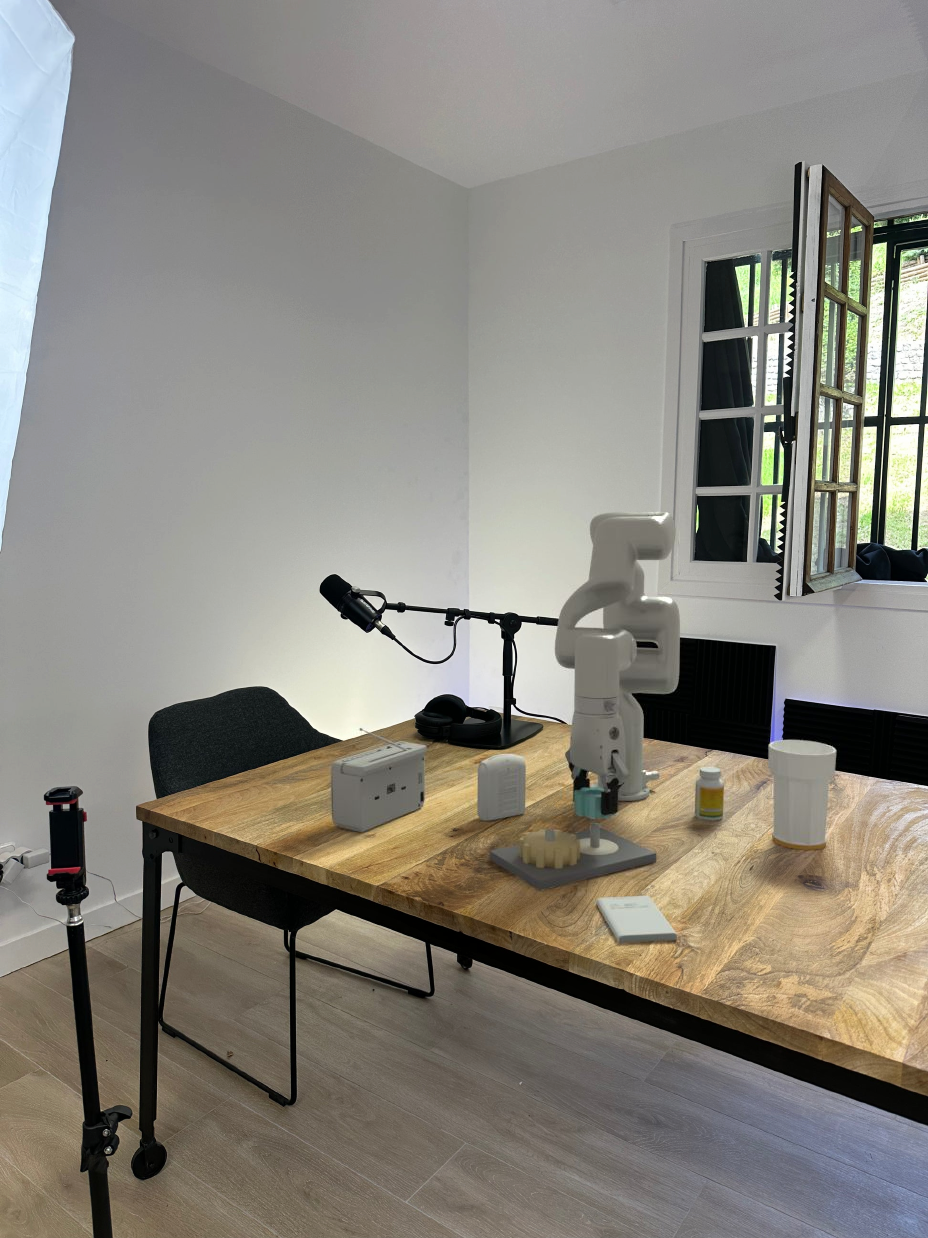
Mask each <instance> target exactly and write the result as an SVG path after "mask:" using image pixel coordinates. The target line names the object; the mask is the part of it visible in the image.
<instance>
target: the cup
mask: <svg viewBox="0 0 928 1238" xmlns="http://www.w3.org/2000/svg"><path fill="white" fill-rule="evenodd" d="M836 758H837V749H836V748H835V747H833V745H832V746H831V745H828V744H826V743H822V742H818V741H812V740H803V739H801V740H800V739H783V740H775V741H771V742H770V743H769V744H768V769H769V771H770V773H772V775H773V831H772V832H771V833H772V834H771V836H772V837H771V839H772V841H773V842H775V843H776V844H778V845H779V846H782V847H784V848H788V849H792V850H793V849H794V850H798V851H814V850H815V851H816V850H821V849H823V848H825V847H826V845H827V838H826V831H827V829H826V827H827V814H828V803H829V802H828V800H829V799H828V798H829V787H830V785H829V784H830V781H831V779H832V778H833V777H834V775H835V773H836V772H835V771H836V764H837V762H836V760H837V759H836Z"/></svg>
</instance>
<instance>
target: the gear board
mask: <svg viewBox="0 0 928 1238" xmlns="http://www.w3.org/2000/svg"><path fill="white" fill-rule="evenodd" d="M523 834H524V836H523V837H522V836H521V837H519V844H516V845H511V846H506V847H501V848H497V849H491V850H489V860H490V861H491V862H494V863H495V864H496V865H498V866H499V867H501V868H503V869H504V870H506V871H508V872H509V873H511V875H514V876H515V877H517V878H519V879H521V880H522V881H524V882H525V883H526V884H528V885H530V886H532V888H533V887H534V889H536V890H538V891H543V890H547V889H551V888H555V887H556V888H557V887H559V886H563V885H567V884H572V883H575V882H580V881H584V880H588V879H591V878H596V877H599V876H604V875H606V874H607V875H608V874H612V873H616V872H620V871H624V870H627V869H630V868H635V867H640V866H644V865H648V864H651V863H655V862H657V852H655V851H653V850H651V849H648V848H646V847H645V846H642V845H641V844H638V843H636V842H634V841H631V840H629V839H628V838H625V837H623V836H620V835H619V834H616V833H615V832H613V831H611V830H608V829H606V828H603V827H601V825H600V823H598V822H591V823H590V826H589V829H584V830H581V831H576V832H572V833H568V832H564V831H563V830H560V829H559V830H558V829H555V830H554V829H552V828H551V829H538V830H537V831H533V832H530V831H526V832H524V833H523Z"/></svg>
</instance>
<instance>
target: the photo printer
mask: <svg viewBox="0 0 928 1238" xmlns="http://www.w3.org/2000/svg"><path fill="white" fill-rule="evenodd" d="M526 765H527V764H526V761H525V758H524V757H523V756H521V755H518V754H516V753H515V754H514V753H501V754H500V753H499V754H495V755H493V756H489V757H486V759H483V760H482V761H481V762H479V764H478V767H477V801H476V803H477V816H478V819H479V820H481V821H484V822H488V821H495V820H499V819H504V818H508V817H515V816H519V815H523V814H525V812H526V786H527V785H526V782H527V781H526V777H527V776H526V773H527V771H526V770H527V769H526V768H527V766H526Z"/></svg>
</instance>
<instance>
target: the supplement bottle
mask: <svg viewBox="0 0 928 1238" xmlns="http://www.w3.org/2000/svg"><path fill="white" fill-rule="evenodd" d="M698 774H699V777H698V778H697V779H696V781H695V793H694V796H695V797H694V815H695V817H696V818H698V819H700V820H702V821H703V820H704V821H708V822H710V821H712V822H714V821H719V820H721V819H723V817H724V797H725V796H724V795H725V790H724V789H725V784H724V781H723V780H722V779H720V778H721V776H722V770H721V769H720V768H718V767H716V766H715V767H714V766H702V767H700V768H699V773H698Z"/></svg>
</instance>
